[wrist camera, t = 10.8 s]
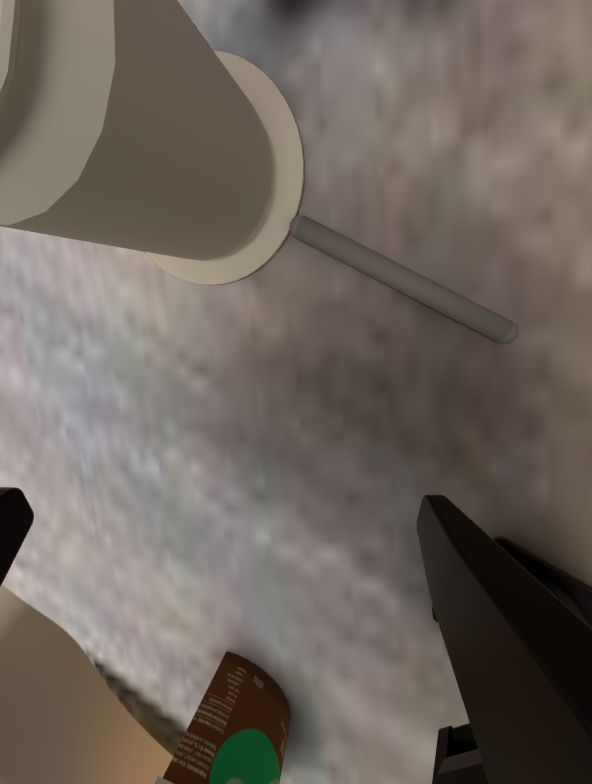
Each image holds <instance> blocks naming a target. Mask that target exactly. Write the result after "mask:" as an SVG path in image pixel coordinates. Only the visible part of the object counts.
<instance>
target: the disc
mask: <svg viewBox="0 0 592 784" xmlns="http://www.w3.org/2000/svg"><path fill="white" fill-rule="evenodd" d="M213 51H214V52H215V54H216V55H217V57H218V58H219V59H220V61H221V62H222V63H223V65H224V66H225V68H226V69H227V70H228V72H229V73H230V75H231V76H232V77H233V79H234V80H235V81H236V83H237V84H238V86H239V87H240V88H241V90H242V91H243V93H244V94H245V95H246V97H247V98H248V99H249V101H250V102H251V104H252V105H253V106H254V108H255V110H256V112H257V114H258V116H259V118H260V120H261V122H262V124H263V126H264V128H265V130H266V132H267V134H268V139H269V145H270V150H271V156H272V161H273V170H272V182H271V194H270V197H269V200H268V202H267V205H266V208H265V210H264V213H263V216H262V219H261V221H260V222H259V224H258V225H257V226H256V228H255V229H254V231H253V232H252V233H251V235H250V236H249V237H248V239H247V240H246V241H245V242H244V243H243V244H241V245H240V246H238V247H237V248H236V249H234V250H233V251H231V252H230V253H228V254H227V255H225V256H221V257H218V258H214V259H210V260H206V261H201V260H192V259H184V258H178V257H172V256H166V255H161V254H155V253H149V252H144V253H145V254H146V255H147V256H148V257H149V258H150V259H151V260H152V261H153V262H154V263H155V264H157V265H158V266H159V267H160V268H161V269H163V270H164V271H166V272H168V273H169V274H171V275H173V276H175V277H177V278H179V279H181V280H184V281H188V282H191V283H196V284H203V285H220V284H226V283H231V282H234V281H238V280H241V279H243V278H245V277H247V276H249V275H251V274H252V273H254V272H255V271H257V270H258V269H260V268H261V267H262V266H264V265H265V264H266V263H267V262H268V261H269V260H270V259H271V258H272V257H273V256H274V255H275V254H276V252H277V251H278V250H279V249H280V247H281V246H282V244H283V243H284V241H285V240H286V238H287V237H288V235H289V233H290V228H289V227H290V222H291V220H292V219H293V218H294V217H295V216H297V214H298V211H299V207H300V203H301V199H302V194H303V186H304V155H303V147H302V142H301V138H300V133H299V130H298V127H297V124H296V121H295V119H294V116H293V114H292V112H291V110H290V108H289V106H288V104H287V102H286V100H285V98H284V97H283V95H282V94H281V93H280V91H279V90H278V88H277V87H276V85H275V84H274V83H273V82H272V81H271V80H270V79H269V77H268V76H267V75H266V74H265V73H264V72H262V71H261V70H260V69H259V68H257V67H256V66H255V65H254V64H252V63H250V62H248V61H247V60H245V59H243V58H241V57H239V56H236V55H233V54H231V53H227V52H222V51H216V50H213Z"/></svg>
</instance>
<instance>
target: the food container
mask: <svg viewBox="0 0 592 784" xmlns="http://www.w3.org/2000/svg"><path fill="white" fill-rule="evenodd" d="M289 723H290V708H289V704H288V701H287V699H286V697H285V695H284V693H283V692H282V690H281V689H280V687H279V686H278V684H277V683H276V682H275V681H274V680H273V679H272V678H271V677H270V676H269V675H268V674H267V673H266V672H265V671H264V670H262V669H261V668H260V667H258V666H257V665H255V664H254V663H252V662H250V661H249V660H247V659H245V658H243V657H241V656H238V655H236V654H233V653H230V652H227V651H226V653H225V655H224V657H223V659H222V661H221V663H220V665H219V667H218V669H217V671H216V673H215V675H214V677H213V679H212V681H211V683H210V685H209V687H208V689H207V691H206V693H205V695H204V697H203V699H202V701H201V703H200V705H199V707H198V709H197V711H196V713H195V715H194V717H193V719H192V721H191V723H190V725H189V727H188V729H187V731H186V733H185V735H184V737H183V739H182V741H181V743H180V745H179V747H178V749H177V751H176V753H175V755H174V757H173V759H172V761H171V763H170V765H169V767H168V768H167V771H166V772H165V774H164V776H163V778H161V777H159V776H158V778H157V780H156V783H155V784H279V782H280V776H281V770H282V764H283V758H284V753H285V747H286V741H287V735H288V729H289Z"/></svg>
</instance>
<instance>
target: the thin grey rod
mask: <svg viewBox="0 0 592 784" xmlns="http://www.w3.org/2000/svg"><path fill="white" fill-rule="evenodd" d="M289 228H290V232H291V234H292V235H293V236H294V237H295V238H297V239H299V240H301V241H303V242H305V243H307V244H309V245H311V246H313V247H314V248H316V249H318V250H320V251H322V252H324V253H326V254H328V255H330V256H332V257H334V258H336V259H338V260H340V261H342V262H343V263H345V264H347V265H349V266H351V267H353V268H355V269H357V270H359V271H361V272H363V273H365V274H367V275H369V276H371V277H373V278H374V279H376V280H378V281H380V282H382V283H384V284H386V285H388V286H390V287H392V288H394V289H396V290H398V291H400V292H402V293H403V294H405V295H407V296H409V297H411V298H413V299H415V300H417V301H419V302H421V303H423V304H425V305H427V306H429V307H431V308H432V309H434V310H436V311H438V312H440V313H442V314H444V315H446V316H448V317H450V318H452V319H454V320H456V321H458V322H460V323H462V324H463V325H465V326H467V327H469V328H471V329H473V330H475V331H477V332H479V333H481V334H483V335H485V336H487V337H489V338H491V339H492V340H494V341H496V342H498V343H502V344H506V343H510V342H512V341H514V340H515V339H516V337H517V336H518V327H517V325H516V324H515V323H513V322H511V321H510V320H508V319H506V318H504V317H502V316H500V315H498V314H496V313H494V312H492V311H490V310H488V309H486V308H484V307H482V306H480V305H478V304H476V303H474V302H472V301H470V300H468V299H466V298H464V297H462V296H460V295H458V294H456V293H454V292H452V291H451V290H449V289H447V288H445V287H443V286H441V285H439V284H437V283H435V282H433V281H431V280H429V279H427V278H425V277H423V276H421V275H419V274H417V273H415V272H413V271H411V270H409V269H407V268H405V267H403V266H401V265H399V264H397V263H395V262H393V261H392V260H390V259H388V258H386V257H384V256H382V255H380V254H378V253H376V252H374V251H372V250H370V249H368V248H366V247H364V246H362V245H360V244H358V243H356V242H354V241H352V240H350V239H348V238H346V237H344V236H342V235H340V234H338V233H336V232H334V231H333V230H331V229H329V228H327V227H325V226H323V225H321V224H319V223H317V222H315V221H313V220H311V219H309V218H307V217H305V216H302V215H298V216H295V217H294V218H293V219H292V220H291V222H290V227H289Z"/></svg>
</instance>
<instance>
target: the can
mask: <svg viewBox="0 0 592 784" xmlns="http://www.w3.org/2000/svg"><path fill="white" fill-rule="evenodd" d="M272 170H273V161H272V156H271V150H270V145H269V139H268V134H267V132H266V130H265V128H264V126H263V124H262V122H261V120H260V118H259V116H258V114H257V112H256V110H255V108H254V106H253V105H252V104H251V102H250V101H249V99H248V98H247V97H246V95H245V94H244V93H243V91H242V90H241V88H240V87H239V86H238V84H237V83H236V81H235V80H234V79H233V77H232V76H231V75H230V73H229V72H228V70H227V69H226V68H225V66H224V65H223V63H222V62H221V61H220V59H219V58H218V57H217V55H216V54H215V52H214V51H213V50H212V48H211V47H210V45H209V44H208V43H207V41H206V40H205V39H204V37H203V36H202V34H201V33H200V32H199V30H198V29H197V27H196V26H195V25H194V23H193V22H192V21H191V19H190V18H189V16H188V15H187V14H186V12H185V11H184V9H183V8H182V7H181V5H180V4H179V2H178V1H177V0H0V226H2V227H8V228H13V229H19V230H25V231H30V232H36V233H42V234H47V235H53V236H59V237H64V238H70V239H76V240H81V241H87V242H93V243H98V244H104V245H110V246H115V247H121V248H127V249H132V250H138V251H144V252H149V253H155V254H161V255H166V256H172V257H178V258H184V259H192V260H201V261H206V260H210V259H214V258H218V257H221V256H225V255H227V254H228V253H230V252H231V251H233V250H234V249H236V248H237V247H238V246H240V245H241V244H243V243H244V242H245V241H246V240H247V239H248V237H249V236H250V235H251V233H252V232H253V231H254V229H255V228H256V226H257V225H258V224H259V222H260V221H261V219H262V216H263V213H264V210H265V208H266V205H267V202H268V200H269V197H270V194H271V182H272Z"/></svg>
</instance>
